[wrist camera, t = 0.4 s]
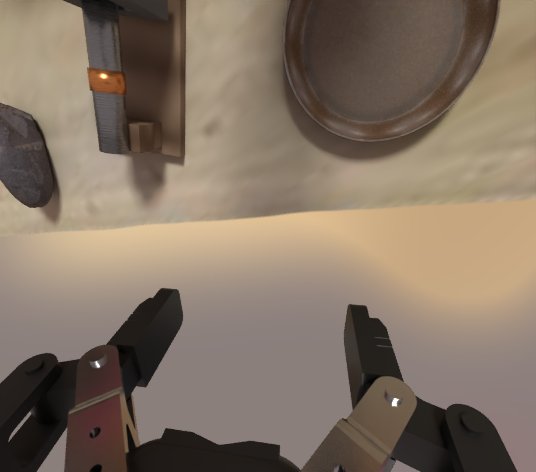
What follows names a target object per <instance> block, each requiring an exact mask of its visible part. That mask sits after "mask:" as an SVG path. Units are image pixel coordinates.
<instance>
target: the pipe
mask: <svg viewBox="0 0 536 472" xmlns="http://www.w3.org/2000/svg"><path fill="white" fill-rule="evenodd" d="M81 3H82V11H83V20H84V28H85V36H86V44H87V52H88V60H89V68H87V71H88V79H89V87H90V90H91V91H92V93H93V101H94V109H95V117H96V126H97V134H98V142H99V150H100V151H101V152H104V153H111V154H124V153H128V152H129V141H128V128H127V115H126V102H125V95H127V88H126V75H125V73H123V64H122V51H121V38H120V25H119V12H118V4H116V3H114V2H112V1H110V0H81Z"/></svg>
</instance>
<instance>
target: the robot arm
mask: <svg viewBox="0 0 536 472" xmlns="http://www.w3.org/2000/svg"><path fill="white" fill-rule="evenodd" d="M182 321H183V311H182V306H181V300H180V294H179V291H178V290H177V289H166V288H161V289H160V290H159V291H158V292H157V294H156V295H155V296H154V297H153V298H148V299H147V300H145V301H144V302H142V303H141V304H140V305H139V306H138V307H137V308H136V309H135V311H134V312H133V314H131V315H130V317H129V318H128V320H127V321H125V323H124V324H123V325H122V326H121V327H120V329H119V330H118V331H117V332H116V334H115V335H114V336H113V337H112V338H111V339H110V341H109V342H108V343H107V344H106V345H101V346H98V347H95V348H93V349H91V350H89V351H88V352H86V353H85V354H84V355H83V356H82V357H81V358H80V359H77V360H71V361H65V362H58V360H57V357H56V356H55V355H54V354H51V353H44V354H39V355H36V356H34V357H32V358H29V359H27V360H26V361H24V362H23V363H22V364H20V365H19V366H18V367H17V368H16V369H15V370H14V371H13V372H12V373H11V374H10V375H9V376H8V377H7V378H6V379H5V380H4V381H2V382H1V383H0V472H37V470H38V469H39V467H40V466H41V464H42V463H43V461H44V460H45V459H46V457H47V456H48V454H49V452H50V451H51V450H52V448H53V447H54V445H55V444H56V442H57V441H58V440H59V438H60V437H61V435H62V434H63V432H64V431H65V429H66V428H67V439H66V453H65V467H64V472H391V470H392V468H393V466H394V464H395V462H396V460H398V461H400V462H402V463H404V464H406V465H408V466H410V467H412V468H414V469H416V470H419V471H420V472H517V470H516V468H515V466H514V464H513V462H512V460H511V458H510V456H509V454H508V452H507V450H506V448H505V446H504V444H503V442H502V440H501V438H500V436H499V434H498V432H497V430H496V428H495V426H494V425H493V424H492V422H491V421H490V420H489V419H488V418H487V417H486V416H485V415H483V414H482V413H481V412H479V411H478V410H476V409H474V408H472V407H470V406H467V405H463V404H453V405H451V406H449V407H448V408H447V410H445V409H442V408H439V407H437V406H435V405H432V404H430V403H427V402H425V401H423V400H421V399H420V398H418V397H417V396H415V394H414V392H413V391H412V390H411V388H410V387H409V386H408V385H407V384H406V383H404V381H403V378H402V375H401V372H400V369H399V366H398V363H397V360H396V357H395V353H394V351H393V348H392V344H391V341H390V340H389V336H388V332H387V329H386V327H385V326H384V325H383V323H382V322H381V321H380V320H379V319H377V318H369V315H368V310H367V307H366V306H363V305H352V304H349V305H348V309H347V315H346V322H345V329H344V346H345V353H346V362H347V369H348V377H349V384H350V392H351V400H352V407H353V411H352V413H351V414H350V415H349V417H348V418H347V419H343V418H342V419H340V420H339V421H338V422H337V424H336V425H335V426H334V427H333V429H332V430H331V431H330V433H329V434H328V435H327V437H326V438H325V439H324V441H323V442H322V443H321V445H320V446H319V447H318V449H317V450H316V451H315V453H314V454H313V455H312V456H311V458H310V459H309V461H308V462H307V463H306V464H305V466H304V467H303V468H302V469H301V470H300V469H299V468H298V467H297V466H296V465H294V464H293V463H292V462H291V461H289V460H287V459H286V458H284V457H282V456H280V445H275V444H268V443H262V442H255V441H247V442H239V443H231V444H224V445H218V444H216V443H213V442H211V441H209V440H207V439H205V438H203V437H201V436H199V435H197V434H195V433H193V432H188V431H181V430H175V429H168V428H166V429H165V431H164V433H163V436H162V438H160V439H156V440H152V441H149V442H147V443H144V444H142V445H140V441H139V437H138V430H137V423H136V416H135V408H134V401H133V396H132V392H133V390H134V388H135V387H136V386H139V387H146V386H147V385H148V383H149V381H150V380H151V378H152V376H153V374H154V372H155V371H156V369H157V367H158V365H159V364H160V362H161V360H162V359H163V357H164V355H165V353H166V352H167V350H168V348H169V346H170V345H171V343H172V341H173V339H174V338H175V336H176V334H177V332H178V330H179V329H180V327H181V325H182ZM29 411H31V413H32V414H31V415H30V417H29V418H28V419H27V420H26V422H25V423H24V424H23V425H22V426H21V428H20V429H19V430H18V431H17V433H16V434H15V435H14V436H13V437H12V439H11V440H10V441H9V442H8V440H9V437H10V435H11V433H12V432H13V431H14V429H15V428H16V427H17V426H18V424H19V423H20V422H21V421H22V420H23V418H24V417H25V416H26V415H27V414H28V413H29Z"/></svg>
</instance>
